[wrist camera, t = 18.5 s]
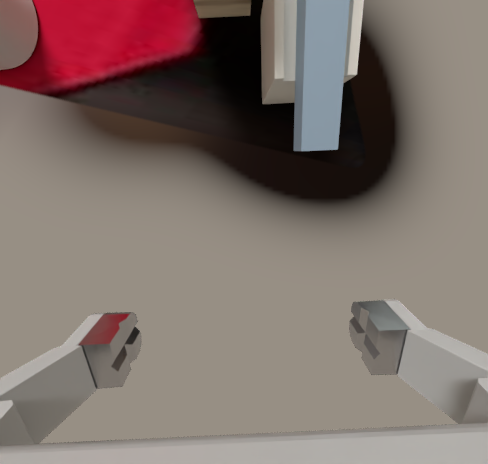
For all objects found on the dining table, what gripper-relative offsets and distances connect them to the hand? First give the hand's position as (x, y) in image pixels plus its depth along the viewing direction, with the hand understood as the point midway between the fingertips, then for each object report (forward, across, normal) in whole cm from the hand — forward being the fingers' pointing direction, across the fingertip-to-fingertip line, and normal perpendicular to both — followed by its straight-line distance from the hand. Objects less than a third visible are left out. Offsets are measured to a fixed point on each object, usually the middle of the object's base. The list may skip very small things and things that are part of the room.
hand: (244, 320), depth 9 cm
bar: (+24, -9, -16) cm, 31 cm away
